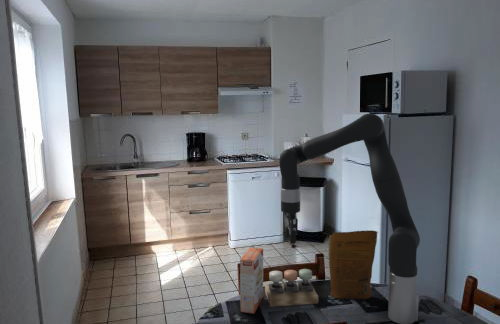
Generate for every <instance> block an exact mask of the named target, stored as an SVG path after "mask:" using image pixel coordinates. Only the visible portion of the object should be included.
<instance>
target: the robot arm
mask: <svg viewBox="0 0 500 324" xmlns="http://www.w3.org/2000/svg"><path fill="white" fill-rule="evenodd" d="M361 141H363V142H364V145H365V147H366V150H367V153H368V159H369V167H370V174H371V179H372V183H373V186H374V189H375V192H376V194H377V198H378V199H379V202H380V203H381V204H382V206H383V207H384V209H385V211H386V212H387V215H388V216H389V221H390V224H391V225H390V226H391V229H392V234H391V235H390V236H389V239H388V260H387V261H388V266H389V270H388V271H389V275H388V278H389V279H388V302H387V303H388V306H387V307H388V308H387V317H388V319H389V320H390V321H392V322H394V323H397V324H413V323H415V322H418V321H419V319H418V317H419V303H420V302H419V300H420V296H419V295H418V293H417V292H418V291H417V290H418V289H417V288H418V266H417V251H418V250H417V249H418V247H419V245H420V241H421V239H420V234H419V232H418V229H417V227H416V225H415V222H414V221H413V217H412V215H411V213H410V210H409V206H408V201H407V197H406V195H405V191H404V186H403V183H402V179H401V177H400V173H399V171H398V166H397V165H396V162H395V160H394V158H393V156H392V153H391V151H390V149H389V145H388V140H387V136H386V130H385V122H384V121H383V119H382V118H381V117H380V116H379V115H378V114H375V113H365V114H363V115H361V116H360V117H359V118H357V119H355V120H353V121H352V122H350V123H349V124H346V125H345V126H343V127H340V128H339V129H336V130H334V131H331V132H328V133H325V134H323V135H320V136H319V135H318V136H316V137H314V138H312V139H309V140H307V141H305V142H303V143H301V144H298V145H295V146H292V147H289V148H287V149H284V150H283V151H281V153H280V155H279V158H278V159H279V160H278V161H279V162H278V163H279V164H278V165H279V171H280V174H281V190H280V210H281V212H282V213H284V214H283V219H284V220H283V221H284V223H283V225H284V228H285V237H286V238H287V239H288V238H289V243H290V244H292V245H293V244H296V243H297V235H298V233H299V231H298V228H299V227H298V224H299V223H298V222H299V220H298V218H297V216H296V214H297V213H300V212H301V191H300V190H301V189H300V187H301V186H300V185H301V181H300V175H299V173H298V165H299V164H301V163H305V162H306V161H308V160H314V159H316V158H319V157H321V156H324V155H326V154H329V153H331V152H334V151H335V150H337V149H339V148H341V147H344V146H347V145H349V144H353V143H356V142H361Z"/></svg>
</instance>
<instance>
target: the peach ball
mask: <svg viewBox="0 0 500 324" xmlns="http://www.w3.org/2000/svg"><path fill="white" fill-rule="evenodd" d="M283 274H284V275H283V276H284V280H285V281H287V282H288V284H289V285H293V284H294V282H296V281H297V280H298V271H296V270H294V269H287V270H284V272H283Z"/></svg>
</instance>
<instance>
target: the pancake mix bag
mask: <svg viewBox="0 0 500 324" xmlns="http://www.w3.org/2000/svg"><path fill="white" fill-rule="evenodd" d="M377 241H378V231H376V230H355V231H354V230H353V231H340V232H337V231H336V232H332V234H329V237H328V266H329V268H328V269H329V279H330V287H331V290H330V294H329V295H330V297H333V298H334V299H340V300H367V299H370V298H371V297H372V289H371V281H372V275H373V266H374V260H375V256H376V255H375V254H376V246H377Z"/></svg>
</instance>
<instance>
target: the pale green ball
mask: <svg viewBox="0 0 500 324" xmlns="http://www.w3.org/2000/svg"><path fill="white" fill-rule="evenodd" d="M312 278H313V271H312V270H311V269H310V268H309V269H308V268H302V269H299V270H298V279H300V280H302V281H303V284H308V281H310V280H312Z"/></svg>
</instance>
